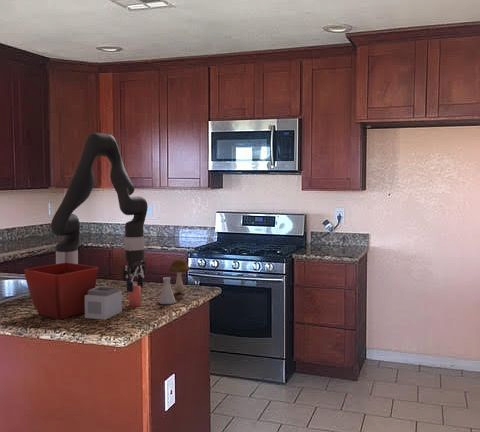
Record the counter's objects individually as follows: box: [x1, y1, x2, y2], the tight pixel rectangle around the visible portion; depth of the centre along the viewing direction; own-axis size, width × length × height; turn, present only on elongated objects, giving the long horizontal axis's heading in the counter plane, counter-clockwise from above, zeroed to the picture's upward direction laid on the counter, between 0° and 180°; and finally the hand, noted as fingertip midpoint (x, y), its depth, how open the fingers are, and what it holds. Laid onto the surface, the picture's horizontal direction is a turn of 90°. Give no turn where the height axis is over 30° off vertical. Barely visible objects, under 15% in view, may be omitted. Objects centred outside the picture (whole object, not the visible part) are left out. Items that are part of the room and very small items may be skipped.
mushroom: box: [168, 258, 191, 294], centre depth 246 cm, size 9×11×15 cm
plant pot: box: [23, 263, 99, 320], centre depth 209 cm, size 19×19×17 cm
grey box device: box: [84, 285, 123, 320], centre depth 207 cm, size 8×12×10 cm, turn 162°
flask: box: [157, 276, 176, 305], centre depth 227 cm, size 7×7×10 cm
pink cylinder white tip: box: [128, 282, 142, 308], centre depth 223 cm, size 5×5×8 cm
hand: (135, 289), depth 223 cm, fingers open, 8 cm apart
